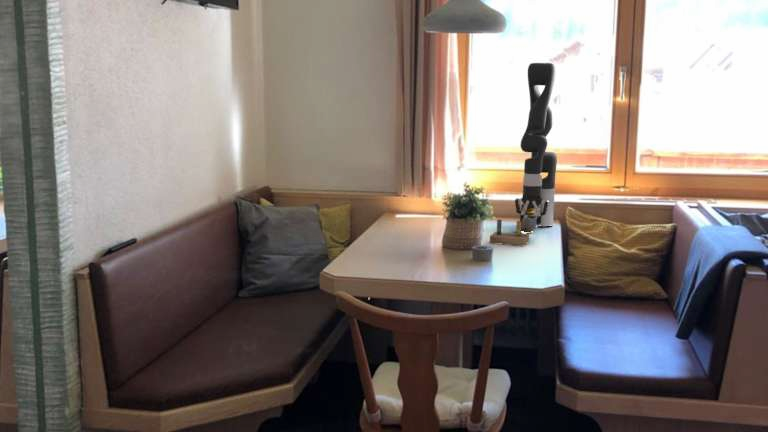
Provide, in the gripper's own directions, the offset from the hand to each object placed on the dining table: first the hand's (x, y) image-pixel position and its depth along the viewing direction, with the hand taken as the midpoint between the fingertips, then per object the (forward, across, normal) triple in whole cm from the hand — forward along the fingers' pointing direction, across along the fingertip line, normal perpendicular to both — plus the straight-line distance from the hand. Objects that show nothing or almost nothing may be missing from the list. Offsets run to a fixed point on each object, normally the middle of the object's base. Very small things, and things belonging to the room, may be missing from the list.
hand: (530, 224), depth 332 cm
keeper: (+6, +6, +12) cm, 14 cm away
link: (+1, 0, 0) cm, 1 cm away
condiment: (+7, +5, -12) cm, 15 cm away
